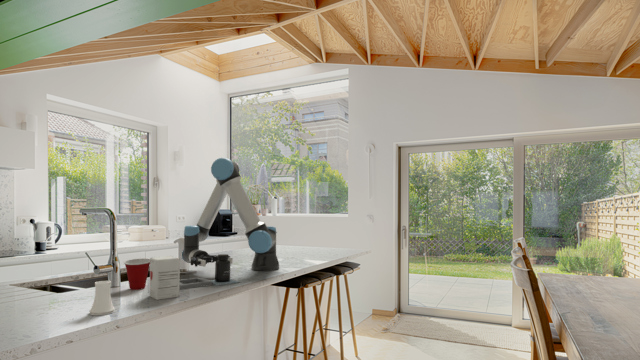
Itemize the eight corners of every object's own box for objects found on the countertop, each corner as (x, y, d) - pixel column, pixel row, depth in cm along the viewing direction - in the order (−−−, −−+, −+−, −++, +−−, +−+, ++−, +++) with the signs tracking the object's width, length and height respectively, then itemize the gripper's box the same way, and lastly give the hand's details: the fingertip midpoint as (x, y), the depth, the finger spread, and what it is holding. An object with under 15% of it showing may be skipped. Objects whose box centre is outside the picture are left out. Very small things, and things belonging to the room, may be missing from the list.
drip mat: (228, 279, 195) (228, 278, 195) (239, 282, 186) (239, 281, 186) (206, 282, 188) (206, 280, 188) (216, 285, 179) (216, 284, 179)
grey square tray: (199, 280, 192) (199, 277, 192) (212, 284, 181) (212, 281, 181) (169, 284, 183) (169, 280, 183) (181, 289, 172) (181, 285, 173)
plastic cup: (118, 291, 168) (119, 262, 169) (129, 286, 179) (130, 258, 180) (145, 291, 169) (145, 261, 169) (154, 286, 179) (155, 258, 180)
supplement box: (148, 296, 160) (149, 257, 161) (171, 292, 166) (172, 255, 166) (155, 300, 153) (156, 259, 154) (179, 296, 159) (180, 257, 159)
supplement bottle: (228, 282, 184) (228, 255, 184) (212, 282, 184) (213, 255, 184) (231, 279, 190) (232, 253, 191) (217, 279, 191) (217, 253, 191)
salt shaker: (101, 316, 131) (102, 284, 132) (83, 314, 133) (84, 283, 134) (120, 310, 138) (120, 280, 139) (102, 308, 141) (103, 279, 141)
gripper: (221, 262, 215) (242, 267, 199) (174, 267, 199) (192, 273, 183) (221, 248, 215) (242, 252, 199) (174, 252, 199) (192, 256, 183)
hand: (218, 262), depth 191 cm, fingers open, 13 cm apart
